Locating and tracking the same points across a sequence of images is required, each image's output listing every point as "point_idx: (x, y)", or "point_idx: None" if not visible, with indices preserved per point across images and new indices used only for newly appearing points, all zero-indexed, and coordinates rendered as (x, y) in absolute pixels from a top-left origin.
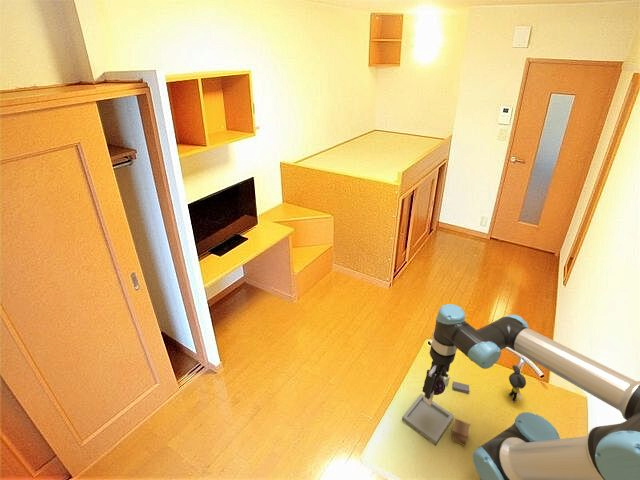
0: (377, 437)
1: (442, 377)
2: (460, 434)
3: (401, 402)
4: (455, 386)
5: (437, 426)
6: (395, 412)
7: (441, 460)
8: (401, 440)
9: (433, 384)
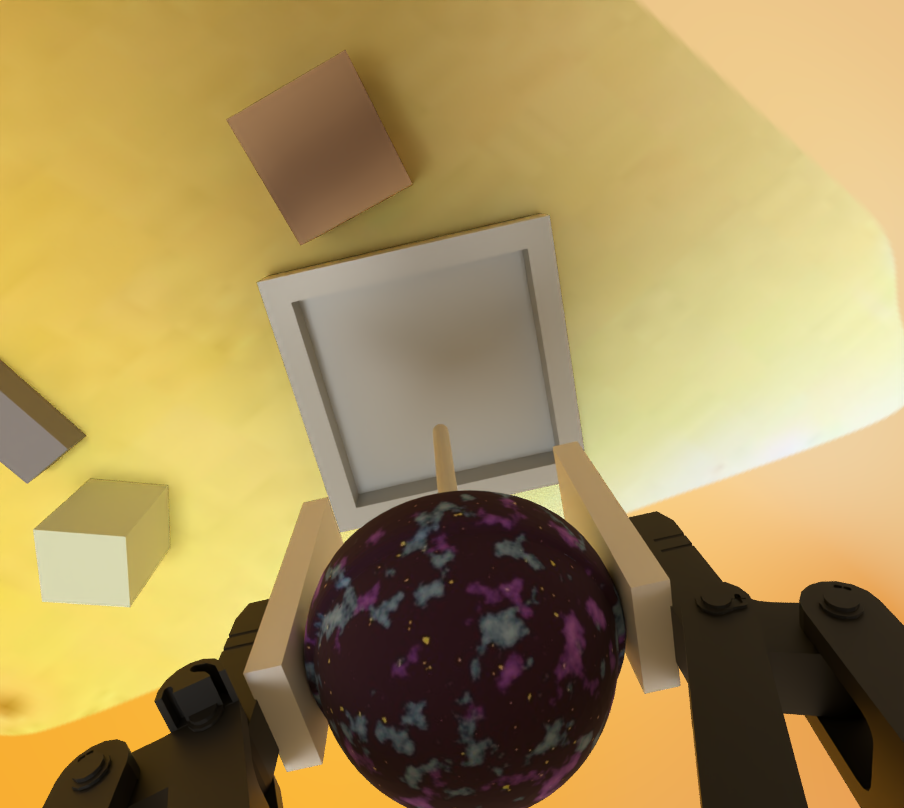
0: (778, 456)
1: (280, 691)
2: (377, 114)
3: None
4: (44, 444)
5: (423, 299)
6: None
7: (595, 110)
8: (686, 366)
9: (794, 781)
